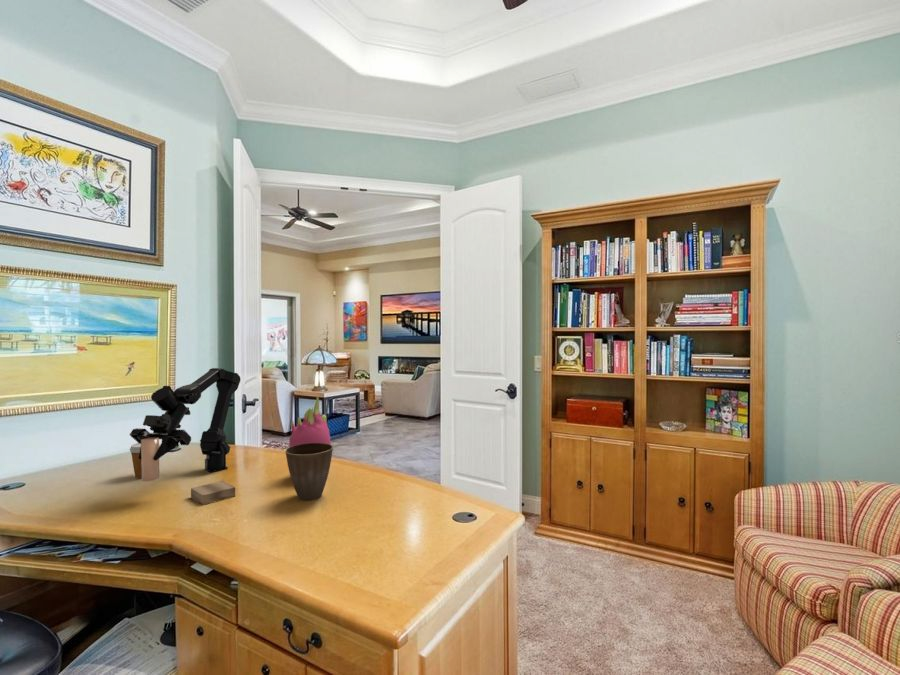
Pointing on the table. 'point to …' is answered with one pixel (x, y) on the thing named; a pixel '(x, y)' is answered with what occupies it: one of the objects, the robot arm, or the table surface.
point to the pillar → (149, 458)
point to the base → (212, 492)
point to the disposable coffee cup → (136, 459)
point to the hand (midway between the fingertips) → (147, 459)
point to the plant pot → (309, 468)
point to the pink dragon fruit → (311, 428)
